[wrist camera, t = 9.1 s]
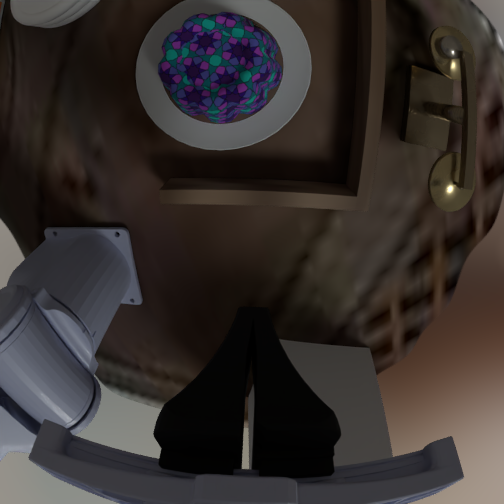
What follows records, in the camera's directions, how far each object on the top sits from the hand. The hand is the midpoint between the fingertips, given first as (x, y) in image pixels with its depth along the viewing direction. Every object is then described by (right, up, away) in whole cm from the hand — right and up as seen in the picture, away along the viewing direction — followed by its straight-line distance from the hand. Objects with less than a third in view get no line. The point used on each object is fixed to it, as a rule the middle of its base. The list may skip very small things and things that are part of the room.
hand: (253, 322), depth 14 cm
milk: (+6, -11, +19) cm, 23 cm away
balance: (+13, +14, +4) cm, 20 cm away
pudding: (-2, +16, +3) cm, 17 cm away
